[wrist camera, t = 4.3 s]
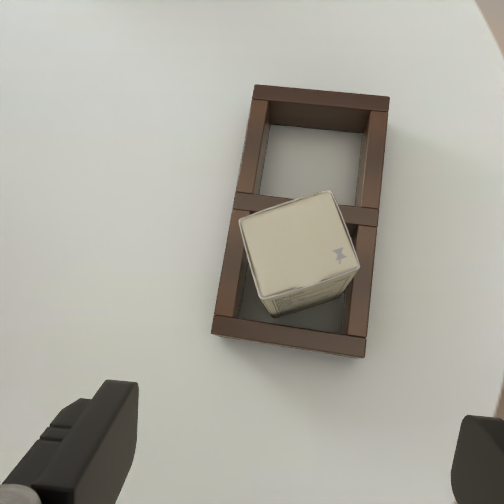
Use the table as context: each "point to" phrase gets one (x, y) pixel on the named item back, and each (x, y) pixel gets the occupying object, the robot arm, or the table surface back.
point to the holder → (249, 201)
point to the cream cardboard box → (299, 253)
